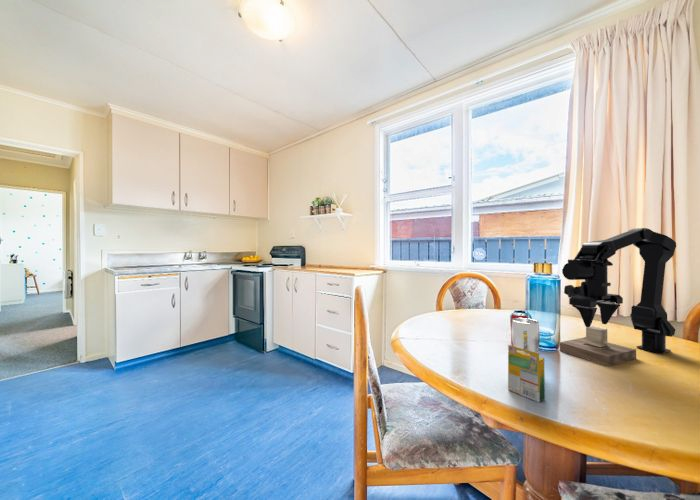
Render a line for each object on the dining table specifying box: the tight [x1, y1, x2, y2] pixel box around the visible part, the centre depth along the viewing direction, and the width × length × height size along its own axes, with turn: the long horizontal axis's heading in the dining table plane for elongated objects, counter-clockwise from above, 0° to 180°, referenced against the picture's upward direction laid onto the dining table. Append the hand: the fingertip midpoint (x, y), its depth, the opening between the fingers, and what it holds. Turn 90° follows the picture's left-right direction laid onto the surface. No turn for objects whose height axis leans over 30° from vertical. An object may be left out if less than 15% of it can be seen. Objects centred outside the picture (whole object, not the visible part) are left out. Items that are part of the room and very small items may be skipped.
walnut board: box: [559, 336, 637, 367], centre depth 94 cm, size 15×14×3 cm
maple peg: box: [585, 325, 608, 349], centre depth 94 cm, size 4×4×9 cm
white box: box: [512, 318, 541, 355], centre depth 82 cm, size 7×7×15 cm
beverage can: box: [510, 312, 529, 346], centre depth 102 cm, size 5×5×12 cm
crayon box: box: [507, 344, 546, 403], centre depth 69 cm, size 7×3×12 cm, turn 33°
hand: (596, 325), depth 94 cm, fingers open, 9 cm apart
